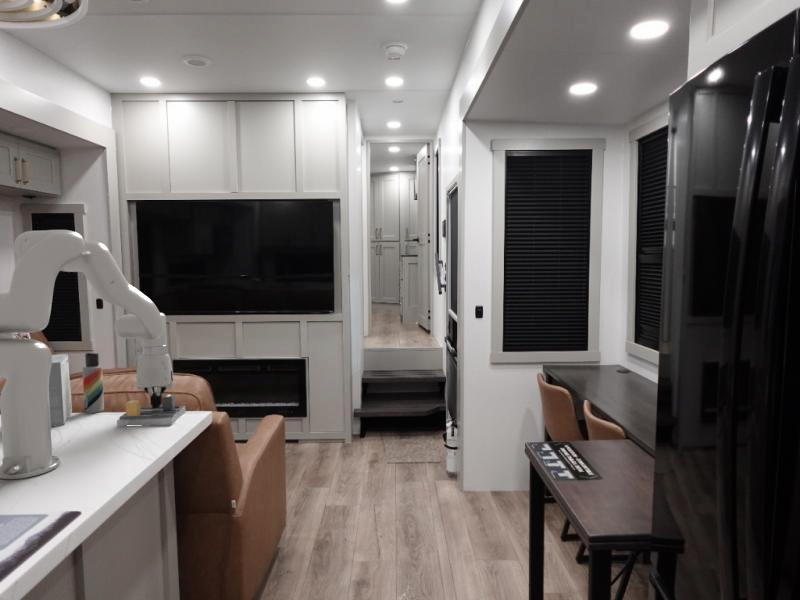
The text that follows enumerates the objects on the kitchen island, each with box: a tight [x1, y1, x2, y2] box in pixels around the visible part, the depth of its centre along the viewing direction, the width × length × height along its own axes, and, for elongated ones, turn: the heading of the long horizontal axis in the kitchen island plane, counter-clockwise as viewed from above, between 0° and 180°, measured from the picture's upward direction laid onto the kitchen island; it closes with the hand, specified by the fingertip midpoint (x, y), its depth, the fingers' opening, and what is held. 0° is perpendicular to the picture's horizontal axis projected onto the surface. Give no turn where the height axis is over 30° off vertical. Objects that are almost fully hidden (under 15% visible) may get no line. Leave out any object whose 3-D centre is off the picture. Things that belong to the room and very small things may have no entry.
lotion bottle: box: [82, 352, 105, 414], centre depth 174 cm, size 6×6×20 cm
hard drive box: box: [49, 353, 73, 427], centre depth 164 cm, size 16×8×20 cm, turn 25°
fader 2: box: [161, 394, 176, 410], centre depth 168 cm, size 3×3×5 cm
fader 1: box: [125, 399, 141, 416], centre depth 161 cm, size 3×3×5 cm
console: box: [116, 405, 187, 427], centre depth 165 cm, size 14×16×3 cm
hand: (156, 406), depth 168 cm, fingers closed
